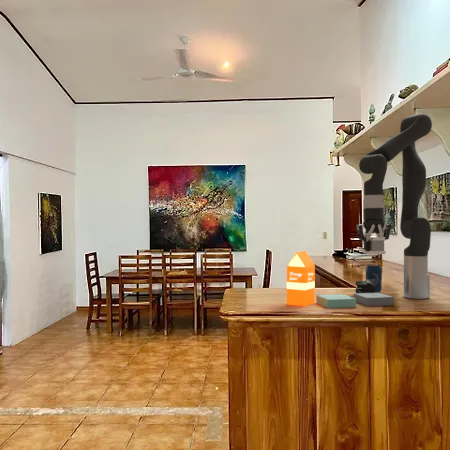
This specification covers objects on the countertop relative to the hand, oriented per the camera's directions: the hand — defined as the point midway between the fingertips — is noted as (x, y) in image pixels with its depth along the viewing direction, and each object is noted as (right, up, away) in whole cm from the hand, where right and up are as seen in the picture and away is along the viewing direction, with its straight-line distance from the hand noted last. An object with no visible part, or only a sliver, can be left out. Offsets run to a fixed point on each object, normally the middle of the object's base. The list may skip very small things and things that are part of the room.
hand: (373, 251), depth 186 cm
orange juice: (-28, -20, -2) cm, 35 cm away
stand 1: (-16, -20, -4) cm, 26 cm away
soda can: (+9, -20, +30) cm, 37 cm away
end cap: (+1, -20, +15) cm, 25 cm away
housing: (0, -1, 0) cm, 1 cm away
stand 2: (0, -20, 0) cm, 20 cm away
